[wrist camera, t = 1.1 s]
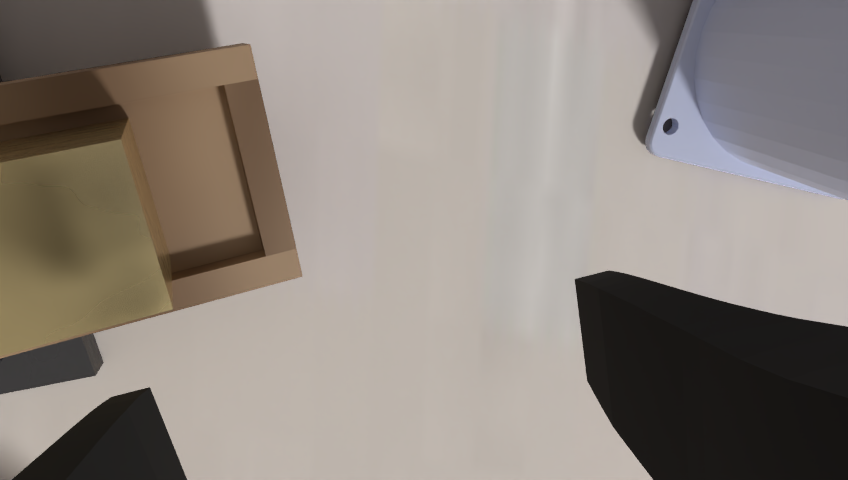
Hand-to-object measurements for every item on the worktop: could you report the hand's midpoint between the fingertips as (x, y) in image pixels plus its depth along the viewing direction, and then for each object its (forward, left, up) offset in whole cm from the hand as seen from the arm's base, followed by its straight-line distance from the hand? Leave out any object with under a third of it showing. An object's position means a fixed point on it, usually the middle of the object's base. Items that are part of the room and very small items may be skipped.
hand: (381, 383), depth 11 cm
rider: (+1, -8, -6) cm, 10 cm away
